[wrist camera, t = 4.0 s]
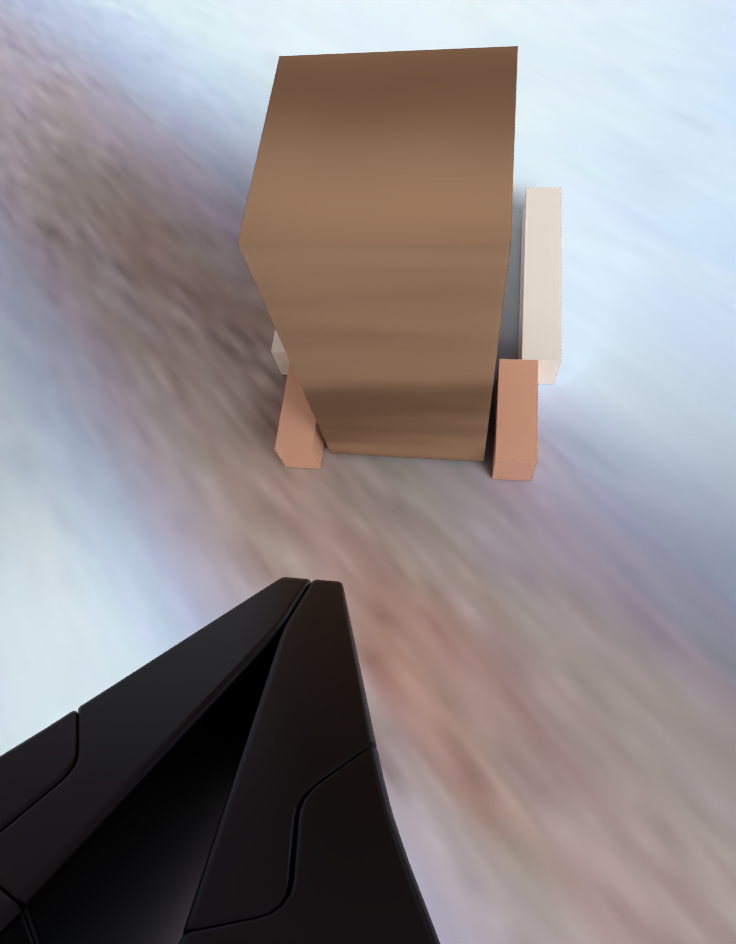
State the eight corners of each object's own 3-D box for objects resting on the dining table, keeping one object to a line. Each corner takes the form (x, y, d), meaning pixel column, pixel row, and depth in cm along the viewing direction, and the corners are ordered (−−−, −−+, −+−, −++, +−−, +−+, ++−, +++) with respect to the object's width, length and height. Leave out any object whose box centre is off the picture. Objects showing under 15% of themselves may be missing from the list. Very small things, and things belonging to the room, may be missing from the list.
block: (483, 461, 20) (510, 244, 11) (330, 452, 21) (237, 242, 12) (489, 328, 22) (517, 46, 13) (348, 325, 23) (279, 56, 14)
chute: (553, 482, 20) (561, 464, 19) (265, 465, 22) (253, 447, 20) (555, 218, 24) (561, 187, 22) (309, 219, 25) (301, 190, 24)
